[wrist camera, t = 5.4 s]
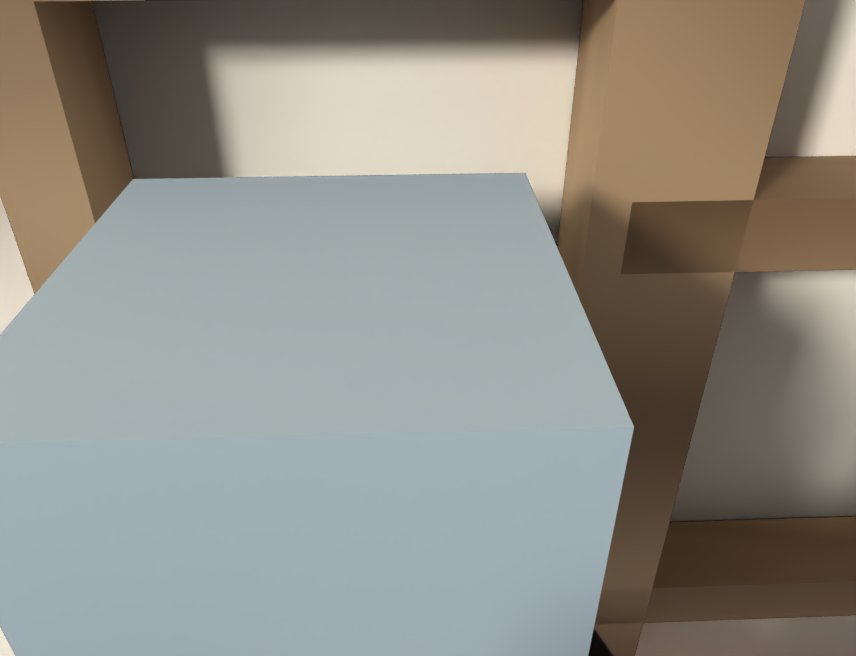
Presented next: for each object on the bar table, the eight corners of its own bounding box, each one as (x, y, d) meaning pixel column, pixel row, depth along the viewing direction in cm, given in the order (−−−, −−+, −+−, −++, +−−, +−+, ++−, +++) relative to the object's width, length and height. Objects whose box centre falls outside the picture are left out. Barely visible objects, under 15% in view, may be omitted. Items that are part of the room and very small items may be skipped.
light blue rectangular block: (485, 709, 13) (517, 1009, 9) (260, 718, 13) (210, 1026, 9) (524, 173, 7) (634, 427, 4) (133, 179, 7) (-97, 445, 4)
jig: (1130, 634, 17) (1189, 696, 15) (204, 668, 16) (187, 736, 15) (1790, -123, 9) (2029, -122, 7) (-28, -117, 8) (-107, -114, 7)
